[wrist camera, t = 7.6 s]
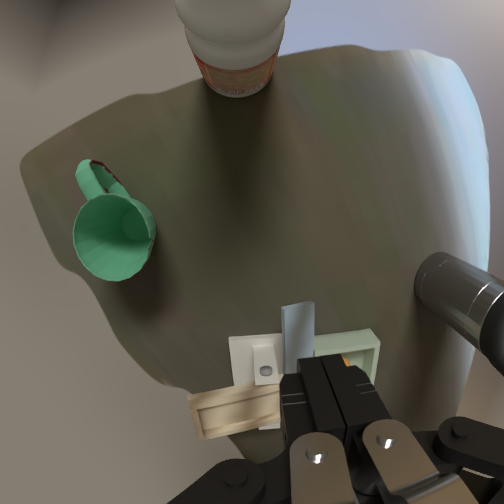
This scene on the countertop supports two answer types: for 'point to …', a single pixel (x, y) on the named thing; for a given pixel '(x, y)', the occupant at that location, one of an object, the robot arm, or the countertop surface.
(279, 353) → the stand
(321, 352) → the pale green tray
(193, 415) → the lever
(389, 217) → the countertop surface
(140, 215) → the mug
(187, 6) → the fruit juice
